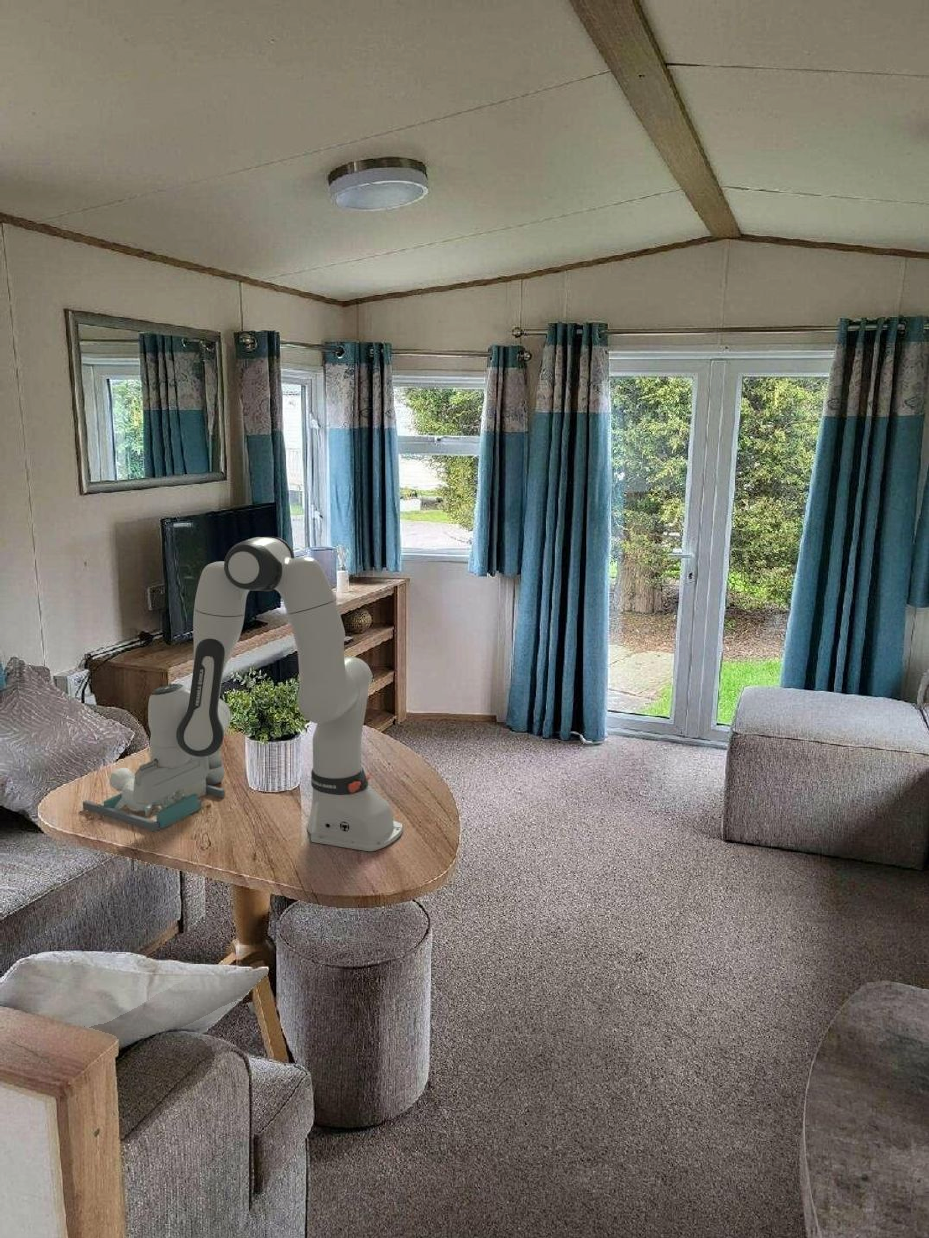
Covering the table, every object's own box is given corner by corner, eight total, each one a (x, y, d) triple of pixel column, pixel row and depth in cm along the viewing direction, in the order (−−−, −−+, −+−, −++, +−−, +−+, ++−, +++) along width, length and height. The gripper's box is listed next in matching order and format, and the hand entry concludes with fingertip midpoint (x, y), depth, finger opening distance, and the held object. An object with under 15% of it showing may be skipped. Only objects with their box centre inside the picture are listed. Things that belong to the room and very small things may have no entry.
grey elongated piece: (206, 793, 218) (205, 778, 217) (187, 802, 213) (186, 787, 212) (152, 778, 226) (151, 764, 226) (133, 787, 221) (132, 772, 220)
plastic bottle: (220, 788, 222) (217, 713, 218) (194, 787, 222) (190, 713, 218) (227, 778, 228) (224, 705, 224) (202, 777, 228) (198, 705, 224)
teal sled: (198, 809, 209) (197, 794, 208) (160, 829, 199) (159, 813, 198) (142, 793, 217) (141, 778, 216) (104, 811, 207) (102, 795, 206)
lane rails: (224, 796, 217) (224, 789, 217) (155, 832, 198) (155, 824, 197) (155, 777, 228) (154, 770, 227) (83, 809, 208) (82, 801, 208)
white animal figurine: (166, 816, 213) (124, 783, 218) (174, 788, 210) (131, 756, 215) (138, 829, 205) (96, 795, 210) (146, 801, 202) (102, 767, 207)
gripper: (145, 770, 191) (148, 828, 194) (212, 742, 208) (214, 795, 212) (124, 765, 194) (128, 822, 197) (192, 737, 211) (195, 790, 214)
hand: (173, 808), depth 204 cm, fingers closed, pressing on teal sled
